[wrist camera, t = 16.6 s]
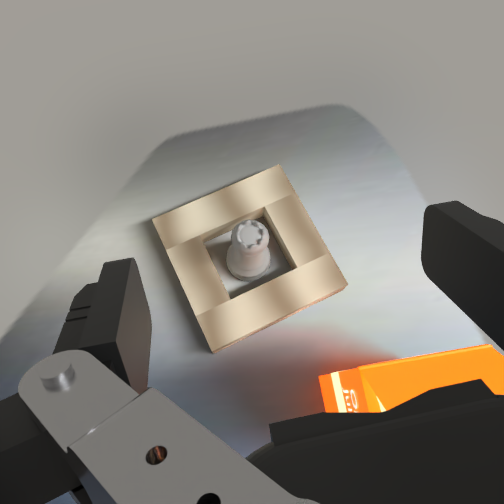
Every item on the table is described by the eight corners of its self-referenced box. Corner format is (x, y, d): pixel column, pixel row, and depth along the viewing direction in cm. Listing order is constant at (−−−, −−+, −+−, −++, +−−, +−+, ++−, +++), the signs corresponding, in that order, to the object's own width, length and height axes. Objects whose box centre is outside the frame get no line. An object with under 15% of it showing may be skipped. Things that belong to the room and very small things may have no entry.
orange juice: (317, 374, 41) (384, 359, 22) (408, 359, 41) (551, 330, 22) (336, 465, 38) (429, 537, 19) (431, 447, 39) (613, 499, 20)
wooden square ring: (213, 353, 41) (211, 351, 39) (156, 228, 45) (151, 219, 42) (342, 290, 43) (348, 284, 41) (277, 175, 47) (279, 164, 45)
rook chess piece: (216, 261, 44) (212, 233, 36) (248, 231, 45) (249, 198, 37) (248, 291, 43) (251, 270, 35) (279, 260, 44) (288, 233, 36)
